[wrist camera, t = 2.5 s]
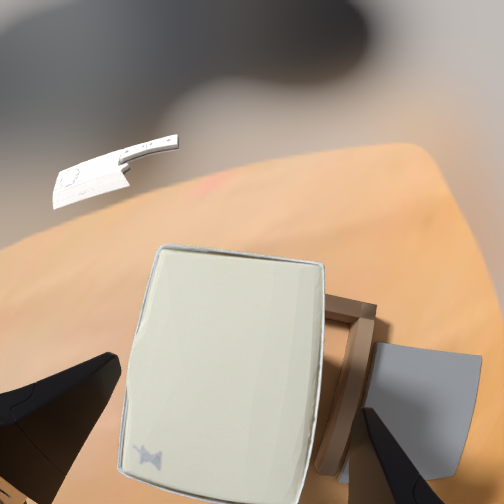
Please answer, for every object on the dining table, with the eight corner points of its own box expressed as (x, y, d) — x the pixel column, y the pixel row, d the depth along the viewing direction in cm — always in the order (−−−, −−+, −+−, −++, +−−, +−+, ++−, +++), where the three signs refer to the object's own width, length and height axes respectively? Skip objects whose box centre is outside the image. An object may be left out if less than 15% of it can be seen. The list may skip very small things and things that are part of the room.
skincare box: (279, 429, 15) (299, 523, 4) (210, 419, 15) (112, 483, 4) (291, 333, 17) (332, 254, 6) (224, 326, 18) (153, 238, 7)
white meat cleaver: (179, 174, 24) (175, 167, 23) (54, 210, 24) (48, 205, 23) (179, 139, 26) (176, 131, 25) (63, 175, 26) (58, 169, 25)
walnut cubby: (327, 466, 13) (334, 476, 11) (139, 413, 15) (125, 415, 13) (366, 312, 17) (376, 304, 16) (186, 269, 20) (178, 258, 18)
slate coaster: (449, 474, 11) (453, 475, 10) (337, 479, 12) (339, 482, 12) (477, 356, 15) (481, 355, 14) (375, 343, 16) (378, 341, 16)
